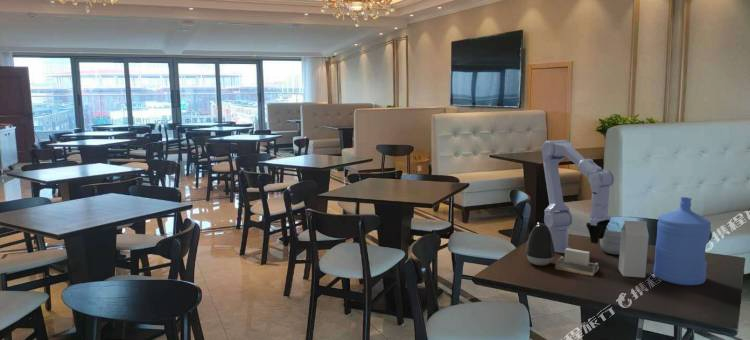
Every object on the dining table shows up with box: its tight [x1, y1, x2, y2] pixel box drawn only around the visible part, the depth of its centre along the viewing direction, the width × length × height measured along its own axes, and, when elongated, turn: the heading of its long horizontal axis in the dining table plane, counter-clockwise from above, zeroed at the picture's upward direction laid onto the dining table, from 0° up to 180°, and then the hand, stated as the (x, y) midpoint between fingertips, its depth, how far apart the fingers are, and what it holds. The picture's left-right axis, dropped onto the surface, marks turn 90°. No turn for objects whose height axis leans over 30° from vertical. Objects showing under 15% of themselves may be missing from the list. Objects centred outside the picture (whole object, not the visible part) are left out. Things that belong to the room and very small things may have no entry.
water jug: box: [652, 196, 712, 286], centre depth 181 cm, size 16×16×28 cm
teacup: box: [599, 230, 621, 256], centre depth 210 cm, size 14×11×8 cm
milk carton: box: [617, 220, 650, 279], centre depth 186 cm, size 7×7×19 cm
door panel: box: [563, 247, 590, 266], centre depth 192 cm, size 2×8×6 cm, turn 54°
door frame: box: [554, 256, 600, 277], centre depth 192 cm, size 9×13×3 cm
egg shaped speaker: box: [525, 222, 556, 267], centre depth 197 cm, size 10×10×15 cm
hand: (597, 240), depth 195 cm, fingers open, 7 cm apart
